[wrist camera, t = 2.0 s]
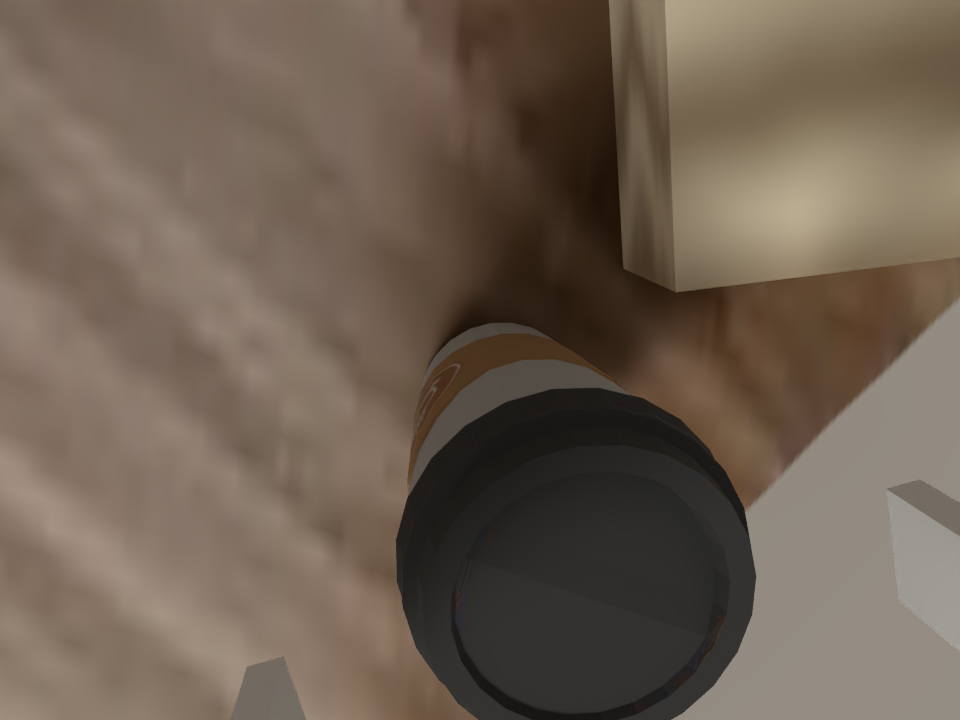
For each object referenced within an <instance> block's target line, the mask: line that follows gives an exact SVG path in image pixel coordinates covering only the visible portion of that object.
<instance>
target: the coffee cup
mask: <svg viewBox="0 0 960 720" xmlns="http://www.w3.org/2000/svg"><path fill="white" fill-rule="evenodd" d="M407 482H408V498H407V502H406V505H405V509H404V513H403V516H402V520H401V524H400V528H399V531H398V535H397V539H396V559H397V583H398V586H399V590H400V593H401V596H402V604H403V609H404V612H405V615H406V618H407V621H408V624H409V627H410V630H411V633H412V636H413V639H414V642H415V646H416V648H417V649H418V651H419V652H420V654H421V655H422V657H423V658H424V659H425V661H426V662H427V664H428V665H429V667H430V668H431V669H432V671H433V672H434V674H435V675H436V676H437V678H438V679H439V681H440V682H442V683H443V684H444V685H445V686H446V687H447V689H448V690H449V691H450V693H451V694H452V696H453V697H454V699H455V700H456V701H457V703H458V704H459V705H461V706H462V707H463V708H465V709H466V710H467V711H468V712H470V713H471V714H472V715H473V716H475V717H476V718H477V719H478V720H671V719H673V718H675V717H677V716H678V715H680V714H682V713H683V712H684V711H685V710H687V709H688V708H689V707H690V706H691V705H692V704H693V703H695V702H696V701H697V700H698V699H699V698H700V697H701V696H702V695H704V694H705V693H706V692H707V691H708V690H709V689H710V688H711V687H713V686H714V684H715V683H716V682H717V680H718V679H719V677H720V676H721V674H722V673H723V672H724V670H725V669H726V668H727V666H728V665H729V663H730V662H731V660H732V659H733V658H734V656H735V655H736V653H737V652H738V649H739V647H740V644H741V642H742V639H743V637H744V634H745V631H746V629H747V626H748V624H749V621H750V619H751V616H752V610H753V600H754V591H755V582H756V573H755V567H754V561H753V557H752V550H751V544H750V538H749V533H748V527H747V521H746V516H745V510H744V507H743V505H742V503H741V501H740V499H739V497H738V495H737V493H736V491H735V489H734V487H733V486H732V484H731V482H730V480H729V478H728V476H727V474H726V472H725V470H724V469H723V468H722V467H721V466H720V464H719V463H718V462H717V461H716V460H715V459H714V457H713V455H712V453H711V451H710V449H709V448H708V447H707V446H706V445H705V444H704V443H703V442H702V441H701V440H700V439H699V438H698V437H697V436H696V435H695V434H694V433H693V432H692V431H691V430H690V429H689V428H688V427H687V426H686V425H685V424H684V423H683V421H682V420H681V419H679V418H677V417H675V416H673V415H672V414H670V413H668V412H666V411H665V410H663V409H661V408H659V407H657V406H656V405H654V404H652V403H650V402H649V401H647V400H645V399H643V398H640V397H635V396H632V395H631V394H629V393H628V392H626V391H625V390H624V389H623V388H622V387H621V386H620V385H619V384H618V383H617V382H616V381H615V380H614V379H613V378H611V377H610V376H608V375H607V374H605V373H604V372H602V371H601V370H600V369H598V368H597V367H595V366H594V365H592V364H591V363H589V362H588V361H586V360H585V359H584V358H582V357H581V356H579V355H578V354H576V353H575V352H573V351H572V350H570V349H568V348H566V347H564V346H563V345H561V344H559V343H557V342H556V341H554V340H553V339H551V338H550V337H548V336H546V335H545V334H543V333H541V332H539V331H537V330H536V329H534V328H531V327H527V326H523V325H519V324H515V323H489V324H485V325H482V326H478V327H475V328H471V329H469V330H467V331H465V332H463V333H462V334H460V335H458V336H457V337H455V338H453V339H451V340H450V341H449V342H448V343H447V344H446V345H445V346H444V347H443V348H442V349H441V350H440V351H439V352H438V353H437V354H436V355H435V357H434V359H433V361H432V362H431V364H430V366H429V368H428V369H427V371H426V373H425V376H424V379H423V383H422V386H421V390H420V394H419V401H418V404H417V408H416V412H415V419H414V427H413V436H412V445H411V453H410V462H409V471H408V480H407Z"/></svg>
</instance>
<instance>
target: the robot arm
mask: <svg viewBox="0 0 960 720" xmlns="http://www.w3.org/2000/svg"><path fill="white" fill-rule="evenodd" d="M886 492H887V501H888V510H889V519H890V528H891V537H892V546H893V555H894V563H895V572H896V580H897V590H898V599H899V601H900V602H901V603H903V604H904V605H905V606H906V607H907V608H909V609H910V610H911V611H912V612H913V613H914V614H916V615H917V616H918V617H919V618H920V619H922V620H923V621H924V622H925V623H926V624H927V625H929V626H930V627H931V628H932V629H933V630H935V631H936V632H937V633H938V634H939V635H940V636H942V637H943V638H944V639H945V640H946V641H947V642H948V643H950V644H951V645H952V646H953V647H954V648H956V649H957V650H958V651H959V652H960V503H959V502H957V501H956V500H954V499H952V498H950V497H949V496H947V495H945V494H943V493H942V492H940V491H939V490H937V489H935V488H933V487H932V486H930V485H928V484H926V483H925V482H923V481H921V480H917V481H913V482H910V483H906V484H902V485H899V486H895V487H892V488H888V489H886ZM231 720H306V718H305V715H304V712H303V709H302V707H301V704H300V701H299V698H298V696H297V693H296V690H295V687H294V684H293V682H292V679H291V676H290V673H289V671H288V668H287V665H286V662H285V659H284V657H281V658H277V659H273V660H270V661H266V662H263V663H259V664H256V665H252V666H248V667H247V669H246V672H245V675H244V679H243V682H242V685H241V688H240V692H239V695H238V698H237V702H236V705H235V708H234V712H233V715H232V718H231Z"/></svg>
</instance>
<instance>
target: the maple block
mask: <svg viewBox="0 0 960 720" xmlns="http://www.w3.org/2000/svg"><path fill="white" fill-rule="evenodd" d="M609 13H610V31H611V50H612V68H613V87H614V105H615V124H616V142H617V161H618V179H619V197H620V216H621V234H622V253H623V269H625V270H628V271H630V272H632V273H634V274H636V275H639V276H641V277H643V278H645V279H647V280H650V281H652V282H654V283H656V284H658V285H660V286H663V287H665V288H667V289H669V290H671V291H674V292H683V291H691V290H699V289H707V288H715V287H723V286H731V285H739V284H747V283H755V282H763V281H772V280H780V279H788V278H796V277H804V276H812V275H820V274H828V273H836V272H844V271H852V270H860V269H868V268H876V267H884V266H892V265H900V264H908V263H916V262H924V261H933V260H941V259H949V258H957V257H960V0H609Z"/></svg>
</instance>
